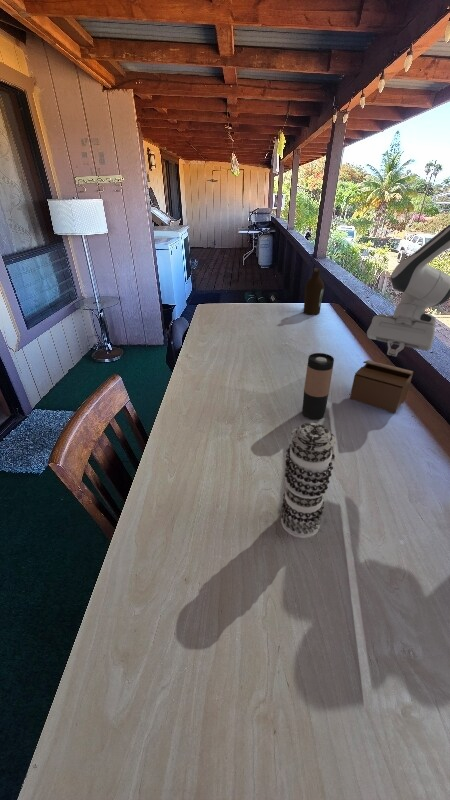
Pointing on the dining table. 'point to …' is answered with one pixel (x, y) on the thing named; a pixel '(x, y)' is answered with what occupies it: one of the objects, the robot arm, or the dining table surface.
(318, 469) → the decorative candle
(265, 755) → the dining table surface
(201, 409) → the dining table surface
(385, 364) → the flap
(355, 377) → the carton
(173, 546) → the dining table surface
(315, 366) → the travel mug
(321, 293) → the olive oil
